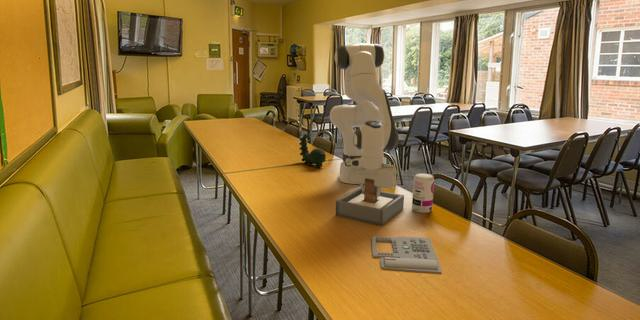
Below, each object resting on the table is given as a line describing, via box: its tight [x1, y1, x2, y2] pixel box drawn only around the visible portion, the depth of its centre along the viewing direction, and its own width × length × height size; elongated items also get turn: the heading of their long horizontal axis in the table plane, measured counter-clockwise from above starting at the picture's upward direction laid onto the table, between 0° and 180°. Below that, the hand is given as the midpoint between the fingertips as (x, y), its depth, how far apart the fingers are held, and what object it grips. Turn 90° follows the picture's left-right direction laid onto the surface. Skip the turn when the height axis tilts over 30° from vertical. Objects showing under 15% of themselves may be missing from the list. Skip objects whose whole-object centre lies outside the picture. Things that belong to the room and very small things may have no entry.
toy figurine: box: [298, 133, 327, 169], centre depth 239 cm, size 9×19×25 cm
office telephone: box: [371, 235, 443, 274], centre depth 130 cm, size 23×3×20 cm
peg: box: [364, 178, 379, 204], centre depth 164 cm, size 4×4×12 cm
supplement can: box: [411, 172, 435, 214], centre depth 167 cm, size 8×8×15 cm
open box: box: [335, 187, 405, 227], centre depth 166 cm, size 22×20×6 cm
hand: (370, 195), depth 165 cm, fingers closed on peg, 4 cm apart
